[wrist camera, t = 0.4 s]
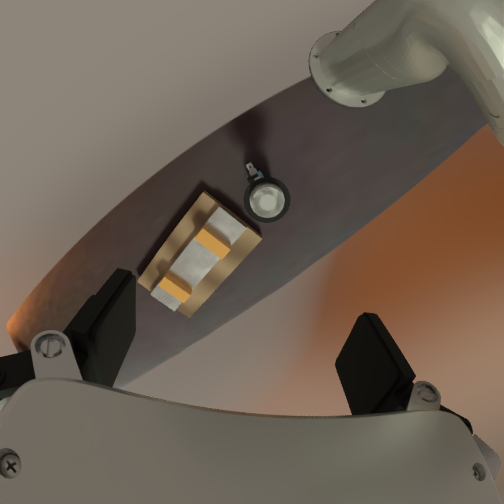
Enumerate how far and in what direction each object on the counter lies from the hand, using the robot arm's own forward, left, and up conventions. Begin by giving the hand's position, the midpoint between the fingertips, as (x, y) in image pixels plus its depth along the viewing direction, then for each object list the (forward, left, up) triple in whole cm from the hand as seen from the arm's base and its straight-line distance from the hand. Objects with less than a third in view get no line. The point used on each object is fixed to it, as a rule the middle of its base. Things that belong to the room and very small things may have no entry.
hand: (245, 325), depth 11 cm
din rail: (+14, +1, -30) cm, 33 cm away
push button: (-2, +1, -32) cm, 32 cm away
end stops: (+14, +1, -29) cm, 32 cm away
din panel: (+14, +1, -32) cm, 35 cm away
